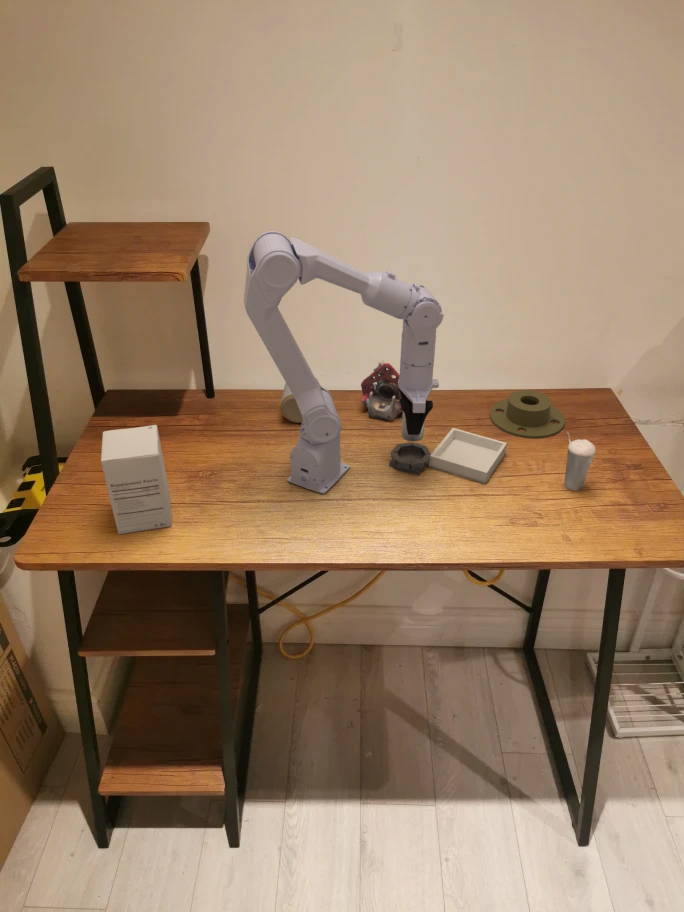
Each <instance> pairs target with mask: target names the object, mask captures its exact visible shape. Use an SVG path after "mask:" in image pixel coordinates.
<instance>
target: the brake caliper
mask: <svg viewBox="0 0 684 912" xmlns="http://www.w3.org/2000/svg"><path fill="white" fill-rule="evenodd" d="M399 376H400V372H398V371H397V370H396V369H395V368H394V367H393V365H392V364H390V363H388V362H384V361H383V360H381V362H380V361H379V362H378V365H377V366H375V368H373V372H371V373H370V374H369V375H368V376H367V377H365V378H364V379H363V380H362V381H361V384H360V388H361V392H362V395H363V397H362V398H361V400H360V403H362V404H363V405H365V406H366V407H367V409H368V411H367V413H368V415H370V417H371V418H376V419H381V420H386V421H394V420H395V419H396V418H397V416H399V415H400V418H399V421H401V422H402V417H403V414H401V413H403V410H402V408H401V405H400V399H402V396H401V393H400V391H399V389H398V385H397V383H398V380H399Z"/></svg>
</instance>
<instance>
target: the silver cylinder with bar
mask: <svg viewBox="0 0 684 912" xmlns="http://www.w3.org/2000/svg"><path fill="white" fill-rule="evenodd" d="M403 399H408V398H403ZM426 401H428V399H427V400H426ZM402 415H403V417H402V421H401V434H400V437H402V439H404V440H405V441H407V442H419V441H421V440H423V438H424V433H425V422H426V420H425V421H424V424H423V427H422V430H421V432H420V434H419V435H408V432H407V426H406V418H405V414H404V412H403V411H402Z"/></svg>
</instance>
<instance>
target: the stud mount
mask: <svg viewBox="0 0 684 912" xmlns="http://www.w3.org/2000/svg"><path fill="white" fill-rule="evenodd" d="M431 454H432V452H431V451H430V450H429V448H428V447H427V446H426V445H424V444H420V443H417V442H415V441H407V442H402V443H398V444H396V445H395V447H394V448H393V449H392V450H391V451H390V458H391V459H390V461H389V463H388V467H390V468H393V469H397V470H400V471H402V472H406V473H409V474H412V475H416V476H420V475H421V473H422V472H423V471H424V470H425V469H426V467H427V466H429V460H430V455H431Z"/></svg>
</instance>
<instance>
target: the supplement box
mask: <svg viewBox="0 0 684 912" xmlns="http://www.w3.org/2000/svg"><path fill="white" fill-rule="evenodd" d="M101 438H102V440H101V456H100V463H101V467H102V471H103V475H104V476H103V477H104V480H105V484H106V488H107V492H108V496H109V501H110V505H111V511H112V514H113V519H114V522H115V526H116V530H117V534H118V535H123V534H128V533H129V534H130V533H136V532H143V531H149V530H157V529H161V528H167V527H169V528H170V527H172V523H173V522H172V506H171V505H172V504H171V493H170V489H169V483H168V478H167V472H166V467H165V462H164V457H163V456H164V455H163V452H162V451H163V450H162V445H161V439H160V435H159V429H158V425H157V424H153V425H146V426H139V427H129V428H119V429H111V430H105V431H103V432H102V437H101Z"/></svg>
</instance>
